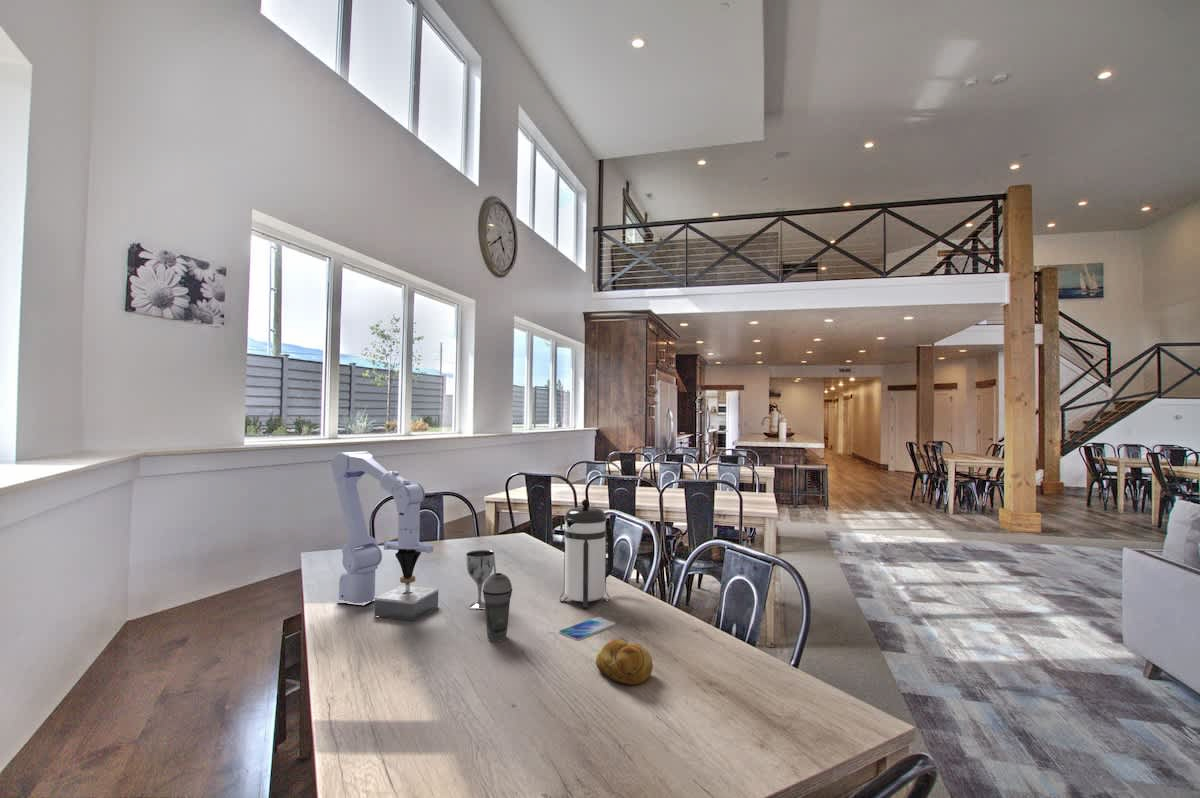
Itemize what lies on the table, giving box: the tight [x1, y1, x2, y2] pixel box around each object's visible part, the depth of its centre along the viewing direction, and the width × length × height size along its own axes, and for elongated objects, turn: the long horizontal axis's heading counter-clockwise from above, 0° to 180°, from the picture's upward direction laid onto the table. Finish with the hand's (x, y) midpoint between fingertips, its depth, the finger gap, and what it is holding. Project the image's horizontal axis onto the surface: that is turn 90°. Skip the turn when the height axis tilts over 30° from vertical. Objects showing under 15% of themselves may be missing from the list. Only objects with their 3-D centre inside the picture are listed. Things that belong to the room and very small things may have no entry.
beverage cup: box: [482, 554, 513, 642], centre depth 137 cm, size 7×7×20 cm
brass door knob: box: [399, 575, 416, 595], centre depth 154 cm, size 10×10×6 cm
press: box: [374, 584, 439, 622], centre depth 155 cm, size 12×14×5 cm
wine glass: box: [465, 549, 495, 608], centre depth 160 cm, size 8×8×15 cm
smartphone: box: [558, 616, 618, 641], centre depth 143 cm, size 7×1×15 cm
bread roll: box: [595, 638, 654, 686], centre depth 117 cm, size 13×10×8 cm
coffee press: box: [559, 498, 615, 610], centre depth 166 cm, size 17×16×30 cm
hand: (407, 577), depth 154 cm, fingers closed
